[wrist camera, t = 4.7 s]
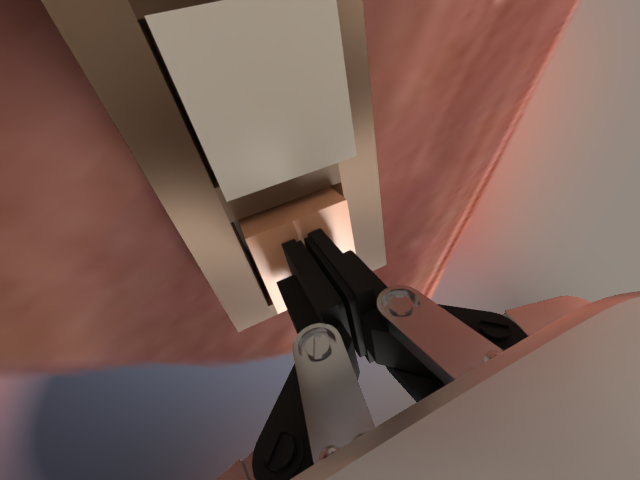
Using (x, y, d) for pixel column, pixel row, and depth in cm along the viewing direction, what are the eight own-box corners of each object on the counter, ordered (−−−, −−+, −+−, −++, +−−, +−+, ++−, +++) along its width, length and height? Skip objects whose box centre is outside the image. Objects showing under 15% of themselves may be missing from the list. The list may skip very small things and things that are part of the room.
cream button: (158, 35, 8) (143, 15, 5) (292, 6, 8) (333, -22, 6) (217, 171, 10) (226, 201, 8) (319, 138, 11) (356, 156, 8)
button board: (-142, -386, 5) (-431, -790, 3) (267, -356, 7) (309, -591, 4) (230, 292, 15) (238, 332, 13) (358, 238, 17) (386, 264, 15)
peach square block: (234, 207, 12) (244, 238, 10) (317, 177, 13) (346, 199, 11) (263, 274, 14) (277, 313, 12) (332, 245, 15) (359, 276, 13)
